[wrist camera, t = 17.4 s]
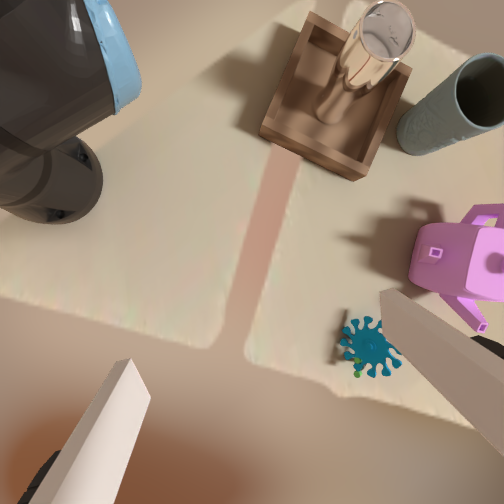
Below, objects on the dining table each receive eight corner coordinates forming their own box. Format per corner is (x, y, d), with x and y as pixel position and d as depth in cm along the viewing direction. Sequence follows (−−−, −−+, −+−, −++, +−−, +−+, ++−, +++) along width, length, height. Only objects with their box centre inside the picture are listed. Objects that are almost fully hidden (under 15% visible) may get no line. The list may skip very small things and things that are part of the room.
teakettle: (496, 269, 47) (592, 281, 34) (429, 319, 46) (502, 349, 34) (455, 198, 45) (541, 182, 33) (385, 248, 44) (445, 251, 32)
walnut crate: (258, 135, 40) (261, 124, 37) (301, 33, 40) (309, 10, 36) (353, 181, 43) (366, 175, 39) (395, 84, 42) (412, 68, 38)
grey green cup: (393, 161, 43) (456, 131, 31) (390, 104, 42) (453, 52, 30) (444, 157, 44) (523, 127, 32) (441, 101, 43) (522, 49, 31)
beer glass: (327, 77, 40) (384, -19, 25) (356, 104, 41) (430, 27, 26) (302, 108, 40) (345, 31, 25) (332, 135, 41) (391, 76, 26)
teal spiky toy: (355, 305, 42) (416, 341, 36) (363, 304, 47) (418, 336, 41) (326, 355, 44) (380, 398, 38) (337, 350, 49) (386, 387, 42)
